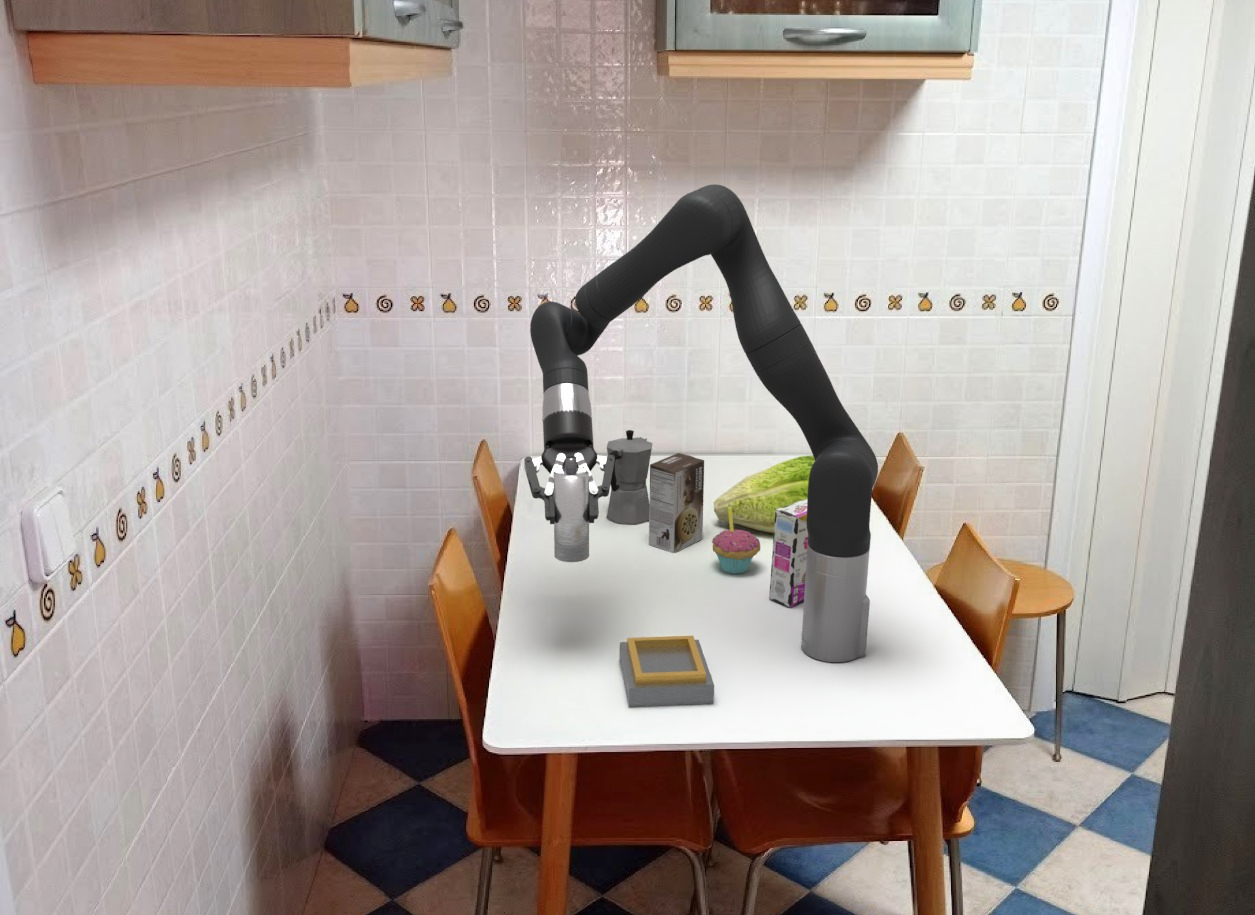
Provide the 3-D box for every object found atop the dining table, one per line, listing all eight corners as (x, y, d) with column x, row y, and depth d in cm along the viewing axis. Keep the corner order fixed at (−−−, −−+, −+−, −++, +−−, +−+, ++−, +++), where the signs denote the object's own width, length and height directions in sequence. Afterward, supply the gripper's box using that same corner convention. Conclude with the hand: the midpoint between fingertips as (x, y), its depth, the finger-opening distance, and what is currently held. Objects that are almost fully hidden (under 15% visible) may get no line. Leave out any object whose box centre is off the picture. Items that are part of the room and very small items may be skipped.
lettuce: (725, 564, 229) (732, 543, 245) (850, 529, 224) (849, 510, 240) (701, 492, 228) (710, 475, 243) (826, 455, 222) (827, 441, 238)
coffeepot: (622, 502, 247) (623, 418, 241) (664, 510, 243) (666, 425, 237) (586, 527, 234) (586, 438, 228) (630, 535, 230) (631, 445, 224)
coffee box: (676, 531, 232) (678, 451, 227) (703, 539, 228) (706, 459, 223) (646, 545, 226) (648, 463, 220) (674, 553, 222) (676, 470, 217)
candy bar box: (791, 609, 200) (797, 517, 195) (768, 600, 203) (773, 509, 198) (832, 590, 207) (838, 501, 202) (808, 581, 211) (814, 493, 205)
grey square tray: (697, 657, 183) (698, 632, 182) (713, 703, 170) (714, 677, 169) (619, 660, 182) (619, 635, 181) (628, 707, 169) (629, 680, 167)
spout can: (587, 548, 183) (587, 451, 178) (590, 561, 178) (590, 463, 173) (553, 549, 182) (552, 452, 178) (555, 562, 178) (554, 464, 173)
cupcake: (701, 568, 215) (703, 505, 212) (731, 555, 221) (733, 494, 218) (739, 582, 210) (742, 518, 206) (768, 568, 216) (772, 505, 212)
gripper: (520, 409, 180) (523, 512, 172) (615, 407, 181) (622, 509, 174) (520, 432, 187) (523, 533, 179) (612, 430, 188) (619, 530, 181)
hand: (572, 521), depth 177 cm, fingers closed on spout can, 5 cm apart
